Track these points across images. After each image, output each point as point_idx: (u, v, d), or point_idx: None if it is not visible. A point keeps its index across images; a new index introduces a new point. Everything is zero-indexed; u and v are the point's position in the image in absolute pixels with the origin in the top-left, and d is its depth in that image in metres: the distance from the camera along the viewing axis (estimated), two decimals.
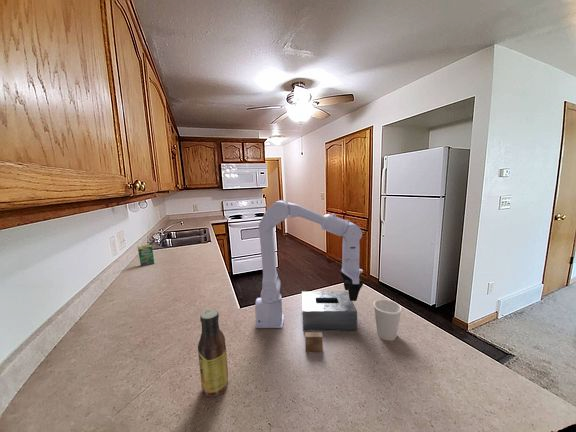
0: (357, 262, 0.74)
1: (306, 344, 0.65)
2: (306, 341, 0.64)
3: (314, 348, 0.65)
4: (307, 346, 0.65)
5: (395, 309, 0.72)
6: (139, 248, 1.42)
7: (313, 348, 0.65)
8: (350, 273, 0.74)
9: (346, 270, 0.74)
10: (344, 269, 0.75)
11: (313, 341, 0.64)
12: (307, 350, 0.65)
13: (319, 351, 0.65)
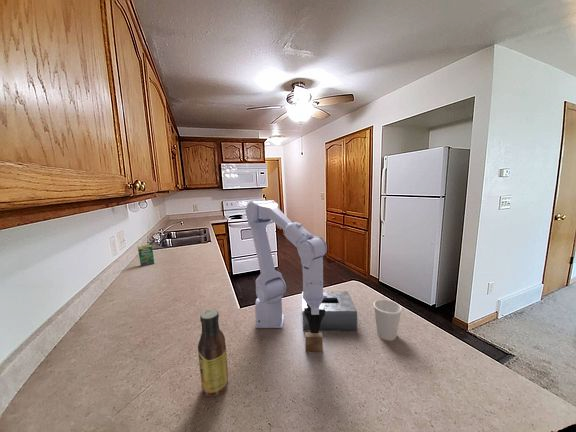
0: (319, 286, 0.61)
1: (306, 344, 0.65)
2: (306, 341, 0.64)
3: (314, 348, 0.65)
4: (307, 346, 0.65)
5: (395, 309, 0.72)
6: (139, 248, 1.42)
7: (313, 348, 0.65)
8: (311, 299, 0.61)
9: (306, 295, 0.61)
10: (304, 294, 0.62)
11: (313, 341, 0.64)
12: (307, 350, 0.65)
13: (319, 351, 0.65)
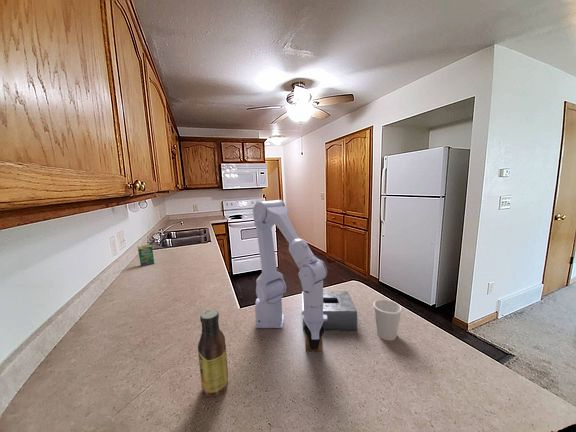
0: (319, 309, 0.62)
1: (306, 344, 0.65)
2: (306, 341, 0.64)
3: None
4: (307, 346, 0.65)
5: (395, 309, 0.72)
6: (139, 248, 1.42)
7: None
8: (311, 323, 0.62)
9: (307, 318, 0.62)
10: (305, 317, 0.63)
11: None
12: (307, 350, 0.65)
13: (319, 351, 0.65)
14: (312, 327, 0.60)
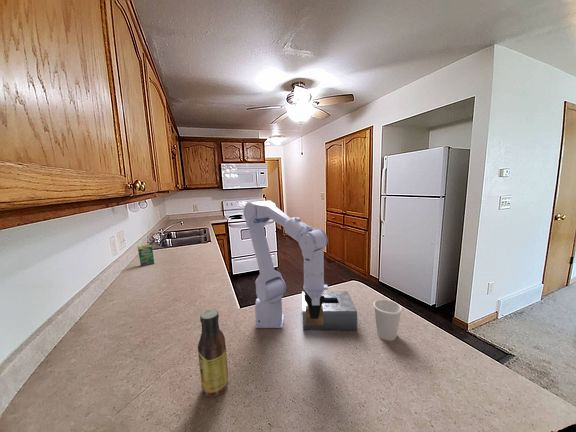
0: (320, 277, 0.61)
1: (306, 317, 0.64)
2: (306, 313, 0.64)
3: (314, 321, 0.64)
4: (307, 319, 0.65)
5: (396, 309, 0.72)
6: (139, 248, 1.42)
7: (313, 321, 0.65)
8: (311, 291, 0.61)
9: (307, 287, 0.62)
10: (305, 285, 0.63)
11: None
12: (307, 323, 0.65)
13: (319, 324, 0.65)
14: (312, 294, 0.60)
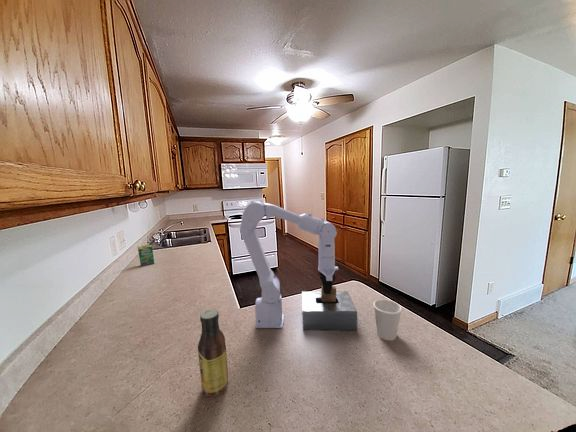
0: (332, 260, 0.76)
1: (322, 294, 0.79)
2: (322, 292, 0.79)
3: (329, 298, 0.79)
4: (323, 296, 0.79)
5: (395, 309, 0.72)
6: (139, 248, 1.42)
7: (328, 298, 0.79)
8: (325, 270, 0.76)
9: (321, 267, 0.77)
10: (320, 267, 0.77)
11: None
12: (323, 299, 0.79)
13: (333, 300, 0.79)
14: (326, 273, 0.74)
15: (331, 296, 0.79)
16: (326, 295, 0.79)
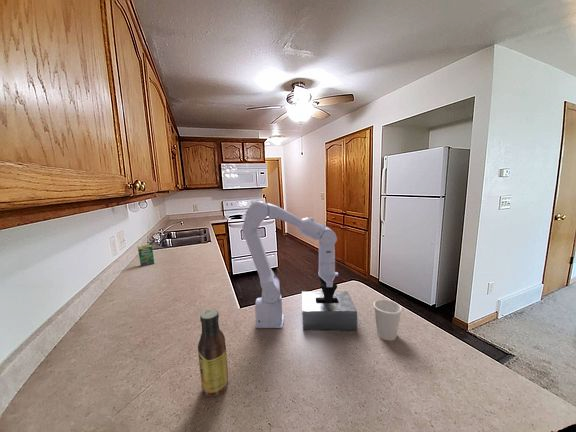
0: (332, 266, 0.76)
1: None
2: None
3: None
4: None
5: (395, 309, 0.72)
6: (139, 248, 1.42)
7: None
8: (325, 276, 0.76)
9: (322, 273, 0.77)
10: (320, 272, 0.78)
11: None
12: None
13: None
14: (326, 279, 0.75)
15: None
16: None
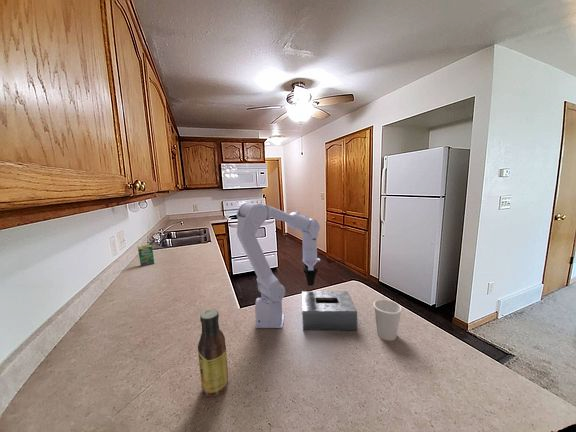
0: (314, 252, 0.85)
1: None
2: None
3: None
4: None
5: (395, 309, 0.72)
6: (139, 248, 1.42)
7: None
8: (308, 261, 0.85)
9: (305, 259, 0.86)
10: (303, 258, 0.87)
11: None
12: None
13: None
14: (308, 263, 0.84)
15: None
16: None
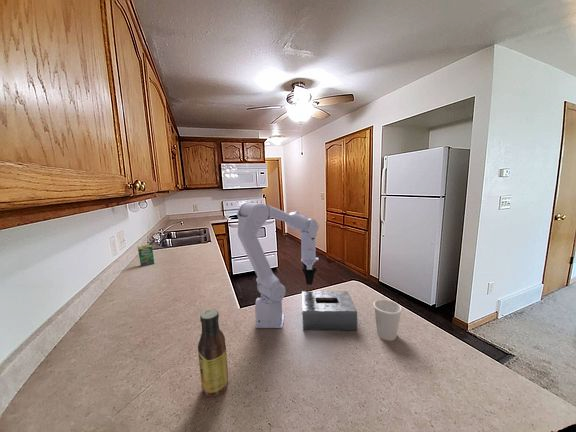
0: (313, 251, 0.86)
1: None
2: None
3: None
4: None
5: (395, 309, 0.72)
6: (139, 248, 1.42)
7: None
8: (307, 261, 0.86)
9: (304, 258, 0.87)
10: (302, 258, 0.88)
11: None
12: None
13: None
14: (307, 263, 0.84)
15: None
16: None
